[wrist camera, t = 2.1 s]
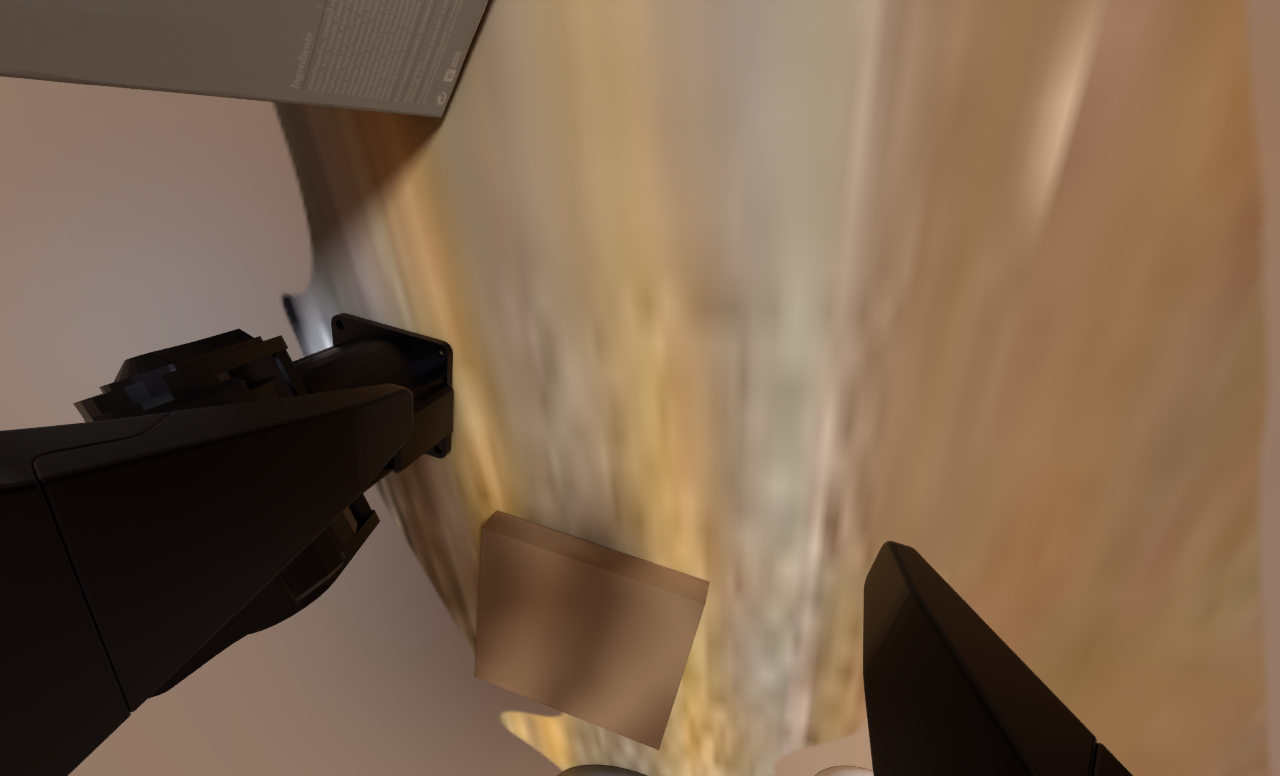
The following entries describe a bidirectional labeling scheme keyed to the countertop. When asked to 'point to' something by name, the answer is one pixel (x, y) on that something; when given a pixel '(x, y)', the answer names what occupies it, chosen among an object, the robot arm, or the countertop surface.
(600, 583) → the square walnut board
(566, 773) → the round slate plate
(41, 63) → the skincare box
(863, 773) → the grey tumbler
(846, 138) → the countertop surface
